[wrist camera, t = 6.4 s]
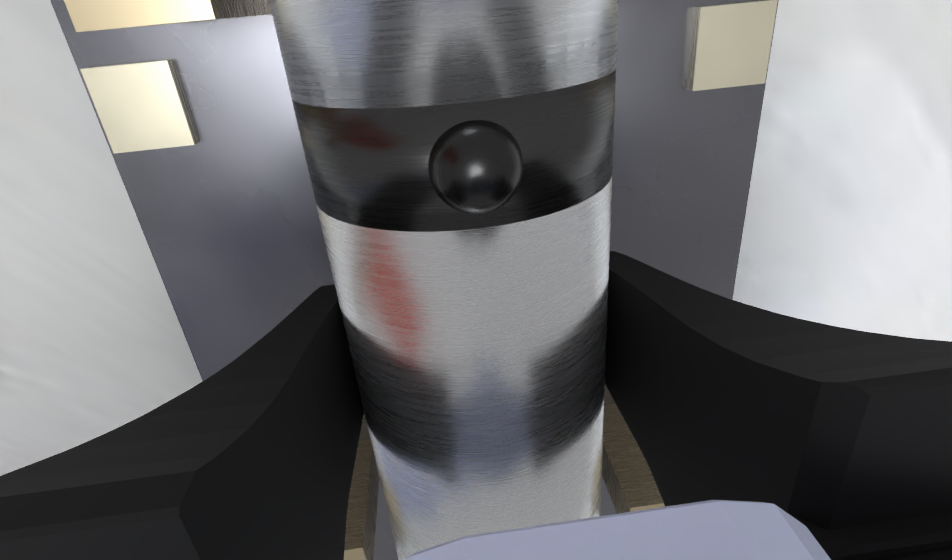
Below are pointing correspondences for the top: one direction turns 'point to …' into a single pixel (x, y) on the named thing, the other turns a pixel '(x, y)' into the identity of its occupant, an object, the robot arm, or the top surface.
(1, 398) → the top surface
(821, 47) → the top surface
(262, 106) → the grey plate with pegs
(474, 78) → the silver long rounded block
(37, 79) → the top surface
